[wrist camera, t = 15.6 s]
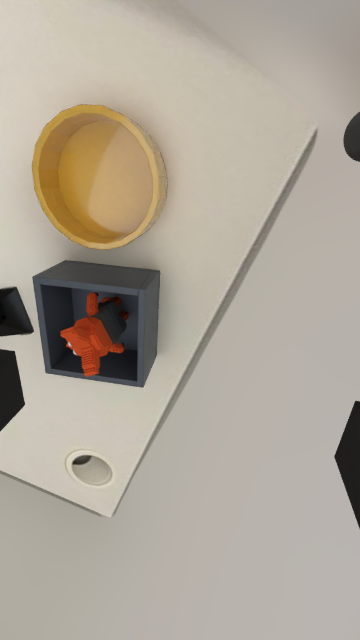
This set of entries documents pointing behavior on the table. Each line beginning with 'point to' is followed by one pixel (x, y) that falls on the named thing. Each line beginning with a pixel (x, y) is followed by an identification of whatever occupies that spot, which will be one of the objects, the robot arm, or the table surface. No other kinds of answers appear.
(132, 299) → the bin
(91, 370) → the toy animal
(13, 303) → the build plate
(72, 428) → the table surface
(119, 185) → the bowl
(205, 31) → the table surface
